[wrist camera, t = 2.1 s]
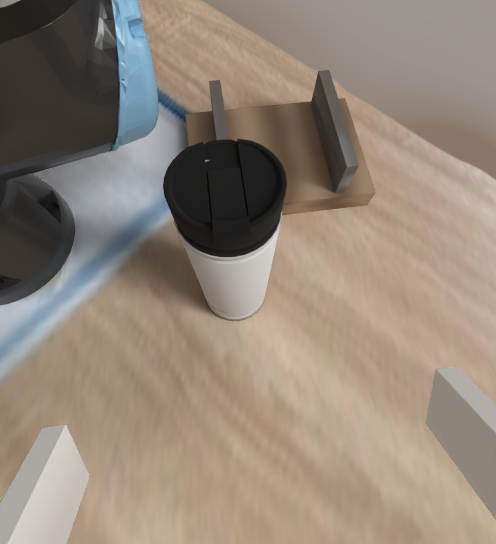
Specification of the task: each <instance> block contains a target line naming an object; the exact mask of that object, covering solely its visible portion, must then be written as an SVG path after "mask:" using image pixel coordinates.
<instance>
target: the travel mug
mask: <svg viewBox="0 0 496 544" xmlns="http://www.w3.org/2000/svg"><path fill="white" fill-rule="evenodd" d="M286 188H287V178H286V173H285V170H284V167H283V165H282V163H281V162H280V160H279V159H278V158H277V157H276V156H275V155H274V154H273V153H272V152H271V151H270V150H269V149H267V148H266V147H264V146H263V145H261V144H258V143H256V142H254V141H251V140H244V139H238V138H237V141H235V140H231V139H230V140H215V141H209V142H207V143H205V144H204V145H203V142H201V143H198V144H195V145H192V146H189V147H188V148H186V149H185V150H183V151H182V152H181V153H179V155H178V156H177V157H176V158H175V159H174V160H173V161H172V162H171V164H170V165H169V167H168V169H167V171H166V174H165V177H164V184H163V189H164V195H165V198H166V201H167V203H168V206H169V208H170V211H171V213H172V215H173V218H174V222H175V225H176V228H177V230H178V233H179V235H180V237H181V240H182V242H183V245H184V247H185V250H186V252H187V254H188V257H189V259H190V262H191V264H192V266H193V269H194V271H195V274H196V276H197V279H198V281H199V283H200V286H201V288H202V291H203V293H204V295H205V298H206V300H207V303H208V305H209V307H210V308H211V310H212V311H213V312H214V313H215V314H216V315H218V316H219V317H221V318H223V319H226V320H230V321H240V320H245V319H247V318H249V317H251V316H252V315H254V314H255V313H256V312H257V311H258V310H259V309H260V307H261V306H262V304H263V301H264V298H265V293H266V288H267V284H268V279H269V274H270V270H271V265H272V260H273V256H274V251H275V246H276V242H277V237H278V232H279V227H280V223H281V217H282V209H283V204H284V199H285V194H286Z"/></svg>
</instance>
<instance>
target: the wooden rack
mask: <svg viewBox="0 0 496 544" xmlns="http://www.w3.org/2000/svg"><path fill="white" fill-rule="evenodd" d="M209 85H210V94H211V103H212V111H210V112H199V113H189V114H185V115H186V126H187V136H188V147H189V146H192V145H195V144H198V143H201V142H203V145H204V144H205V143H207V142H209V141H215V140H230V139H231V140H235V141H237V138H238V139H244V140H251V141H254V142H256V143H258V144H261V145H263V146H264V147H266V148H267V149H269V150H270V151H271V152H272V153H273V154H274V155H275V156H276V157H277V158H278V159H279V160H280V162H281V163H282V165H283V167H284V170H285V173H286V178H287V188H286V194H285V199H284V204H283V209H282V215H286V214H294V213H303V212H311V211H320V210H328V209H337V208H345V207H354V206H362V205H368V203H369V202H370V200H371V199H372V197H373V196H374V194H375V193H376V192H375V189H374V186H373V183H372V180H371V177H370V174H369V171H368V168H367V165H366V162H365V158H364V155H363V152H362V149H361V146H360V143H359V140H358V137H357V134H356V131H355V128H354V124H353V121H352V118H351V115H350V112H349V109H348V106H347V103H346V100H345V98H343V99H338V97H337V94H336V90H335V87H334V84H333V81H332V78H331V75H330V72H329V70H324V71H318V76H317V80H316V84H315V89H314V93H313V97H312V101H311V102H302V103H292V104H281V105H271V106H261V107H251V108H240V109H230V110H224V104H223V97H222V90H221V84H220V80H216V81H209Z"/></svg>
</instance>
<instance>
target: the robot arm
mask: <svg viewBox="0 0 496 544" xmlns="http://www.w3.org/2000/svg"><path fill="white" fill-rule="evenodd" d="M143 27H144V26H143V21H142V17H141V11H140V6H139V2H138V0H0V305H4V304H8V303H12V302H15V301H17V300H20V299H22V298H25V297H26V296H28V295H30V294H32V293H34V292H35V291H37V290H38V289H40V288H41V287H42V286H44V285H45V284H46V283H47V282H49V281H50V280H51V279H52V278H53V277H54V276H55V274H56V273H57V272H58V271H59V270H60V268H61V267H62V266H63V264H64V262H65V261H66V259H67V257H68V255H69V253H70V251H71V248H72V245H73V241H74V234H75V225H74V219H73V215H72V212H71V210H70V208H69V206H68V205H67V203H66V202H65V201H64V199H63V198H62V197H61V196H60V195H59V194H58V193H57V192H56V191H55V190H54V189H53V188H52V187H51V186H50V185H48V184H47V183H46V182H44V181H43V180H41V179H39V178H37V177H35V176H33V175H31V173H34V172H38V171H41V170H45V169H48V168H52V167H55V166H59V165H62V164H66V163H69V162H73V161H76V160H80V159H83V158H87V157H90V156H94V155H97V154H101V153H104V152H108V151H109V152H111V151H114V150H117V149H118V148H119V147H120V146H122V145H124V144H127V143H130V142H132V141H135V140H138V139H140V138H143V137H145V136H147V135H148V134H150V132H152V130H153V129H154V128H155V125H156V123H157V119H158V94H157V86H156V79H155V73H154V67H153V62H152V56H151V52H150V48H149V43H148V39H147V37H146V35H145V33H144V31H143ZM426 424H427V426H428V427H429V428H430V430H431V431H432V432H433V434H434V435H435V437H436V438H437V439H438V441H439V442H440V444H441V445H442V446H443V448H444V449H445V450H446V452H447V453H448V455H449V456H450V457H451V459H452V460H453V461H454V463H455V464H456V466H457V467H458V468H459V470H460V471H461V472H462V474H463V475H464V477H465V478H466V479H467V481H468V482H469V483H470V485H471V486H472V488H473V489H474V490H475V492H476V493H477V495H478V496H479V497H480V499H481V500H482V501H483V503H484V504H485V506H486V507H487V508H488V510H489V511H490V512H491V514H492V515H493V517H494V518H495V519H496V404H495V403H494V402H493V401H492V400H491V399H490V398H489V397H488V396H487V395H486V394H485V393H484V392H482V391H481V390H480V389H479V388H478V387H477V386H476V385H475V384H474V383H473V382H472V381H471V380H470V379H469V378H468V377H467V376H466V375H465V374H464V373H463V372H462V371H461V370H460V369H459V368H458V367H457V366H451V367H445V368H438V369H436V371H435V376H434V381H433V387H432V392H431V397H430V402H429V407H428V413H427V418H426ZM89 477H90V476H89V474H88V472H87V470H86V467H85V465H84V463H83V461H82V459H81V457H80V454H79V452H78V450H77V448H76V446H75V444H74V441H73V439H72V437H71V435H70V433H69V431H68V428H67V426H66V424H65V425H58V426H52V427H45V428H42V430H41V431H40V433H39V435H38V437H37V439H36V440H35V442H34V444H33V446H32V448H31V449H30V451H29V453H28V455H27V456H26V458H25V460H24V462H23V464H22V465H21V467H20V469H19V471H18V473H17V474H16V476H15V478H14V480H13V481H12V483H11V485H10V487H9V489H8V490H7V492H6V494H5V496H4V498H3V499H2V501H1V503H0V544H66V543H67V540H68V538H69V535H70V532H71V529H72V526H73V523H74V520H75V517H76V515H77V512H78V509H79V506H80V503H81V500H82V497H83V494H84V491H85V489H86V486H87V483H88V480H89Z"/></svg>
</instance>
